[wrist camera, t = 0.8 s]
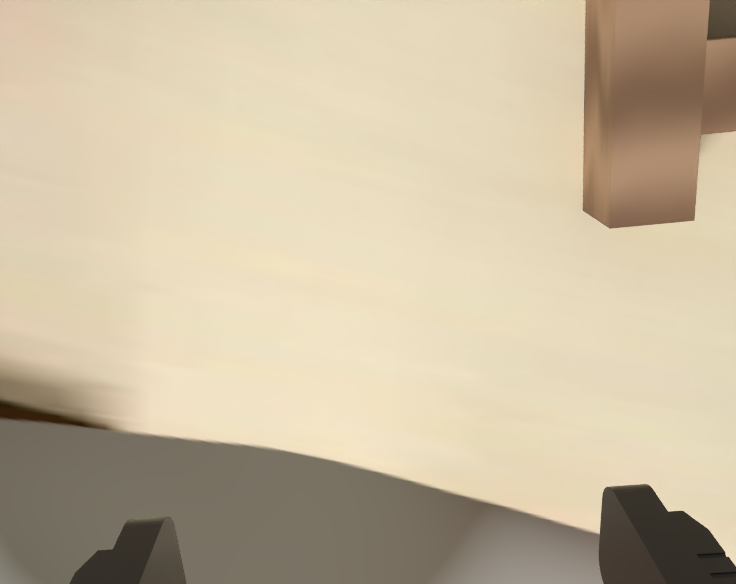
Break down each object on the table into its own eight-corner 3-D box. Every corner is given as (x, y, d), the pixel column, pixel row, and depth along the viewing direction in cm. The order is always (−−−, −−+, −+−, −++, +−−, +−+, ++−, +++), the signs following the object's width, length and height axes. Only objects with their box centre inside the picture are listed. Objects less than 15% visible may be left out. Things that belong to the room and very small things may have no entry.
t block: (586, -39, 31) (617, -52, 28) (842, -65, 31) (908, -82, 28) (582, 210, 35) (609, 228, 32) (809, 188, 35) (864, 204, 31)
